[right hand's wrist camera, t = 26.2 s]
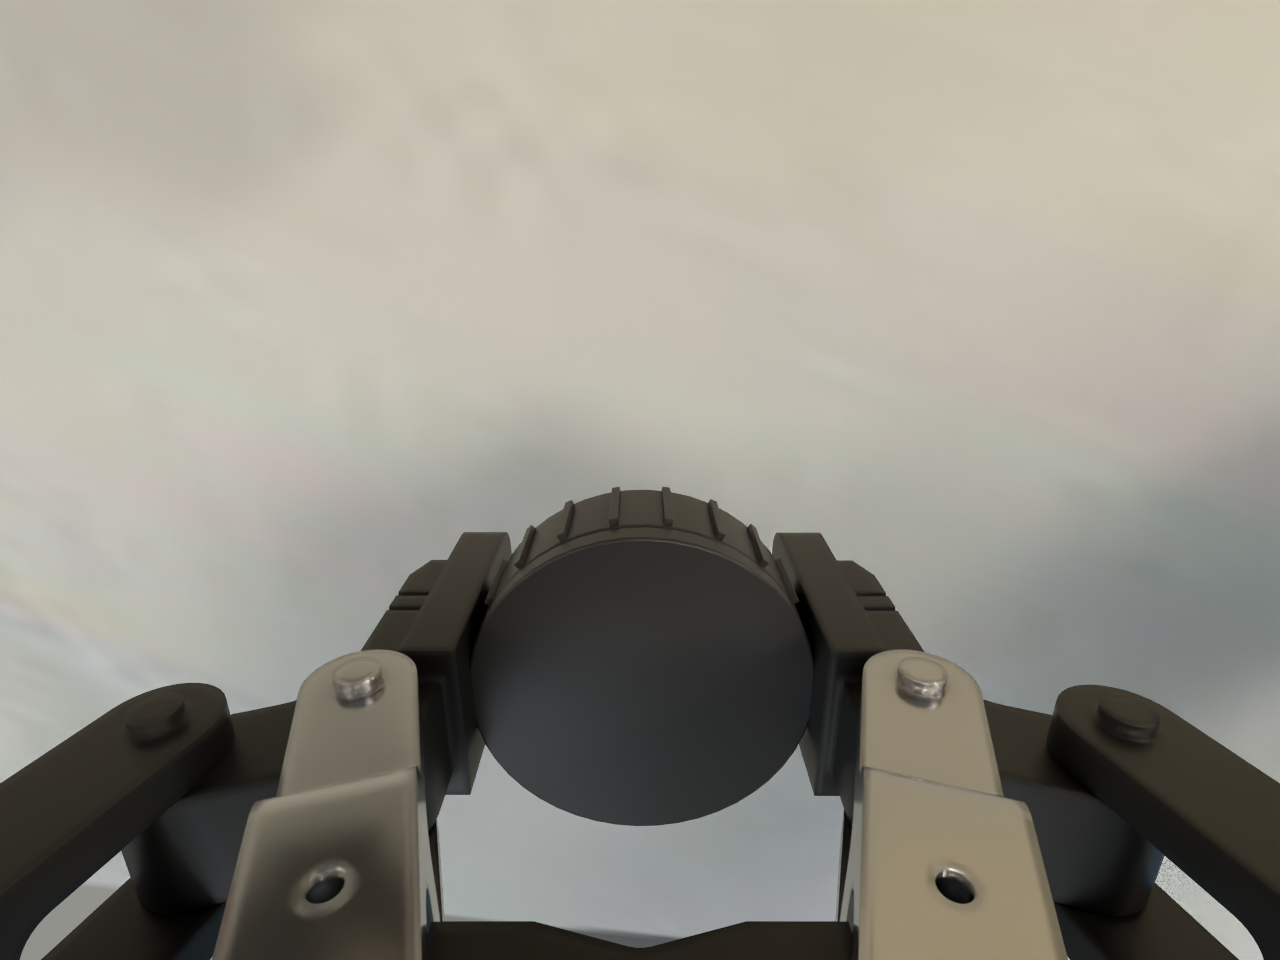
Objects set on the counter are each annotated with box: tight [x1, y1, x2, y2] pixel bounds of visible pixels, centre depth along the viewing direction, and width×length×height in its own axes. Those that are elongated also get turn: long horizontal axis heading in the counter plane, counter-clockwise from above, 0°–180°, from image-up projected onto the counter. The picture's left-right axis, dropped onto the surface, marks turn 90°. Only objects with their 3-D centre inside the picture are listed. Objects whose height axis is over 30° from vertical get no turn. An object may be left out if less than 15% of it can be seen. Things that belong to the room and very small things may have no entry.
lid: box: [470, 487, 814, 826], centre depth 10 cm, size 5×5×2 cm
